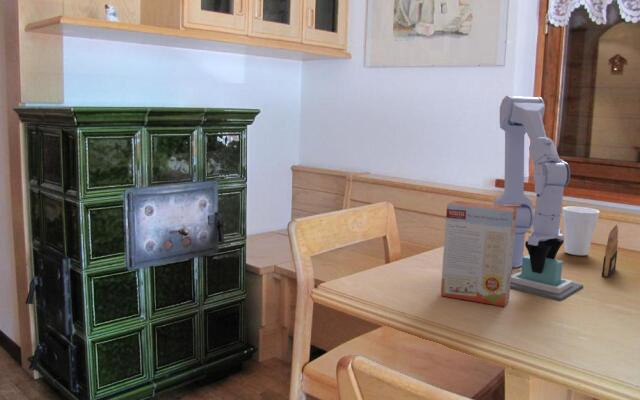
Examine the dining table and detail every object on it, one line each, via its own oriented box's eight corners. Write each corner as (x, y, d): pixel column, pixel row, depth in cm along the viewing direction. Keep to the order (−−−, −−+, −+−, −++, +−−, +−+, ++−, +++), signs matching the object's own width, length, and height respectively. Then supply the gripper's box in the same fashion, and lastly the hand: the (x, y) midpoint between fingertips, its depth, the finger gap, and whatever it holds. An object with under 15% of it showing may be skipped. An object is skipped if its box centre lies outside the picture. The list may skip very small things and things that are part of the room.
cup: (562, 247, 186) (567, 204, 184) (598, 253, 180) (603, 209, 178) (553, 253, 178) (558, 209, 176) (590, 260, 172) (595, 214, 170)
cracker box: (509, 300, 136) (518, 206, 132) (504, 308, 130) (513, 210, 127) (446, 289, 142) (453, 199, 138) (439, 296, 136) (446, 203, 133)
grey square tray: (497, 284, 146) (497, 277, 146) (522, 273, 157) (523, 266, 156) (560, 300, 137) (561, 292, 136) (582, 287, 147) (583, 280, 147)
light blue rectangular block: (553, 289, 143) (556, 264, 141) (520, 281, 148) (522, 257, 147) (560, 285, 146) (562, 261, 144) (527, 278, 151) (529, 254, 150)
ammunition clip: (609, 277, 156) (615, 231, 154) (601, 276, 157) (607, 230, 155) (615, 268, 165) (620, 224, 163) (607, 267, 166) (613, 223, 164)
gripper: (552, 220, 136) (546, 280, 138) (576, 212, 146) (570, 268, 149) (521, 215, 140) (516, 273, 143) (547, 208, 151) (541, 262, 153)
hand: (541, 270), depth 146 cm, fingers open, 5 cm apart
